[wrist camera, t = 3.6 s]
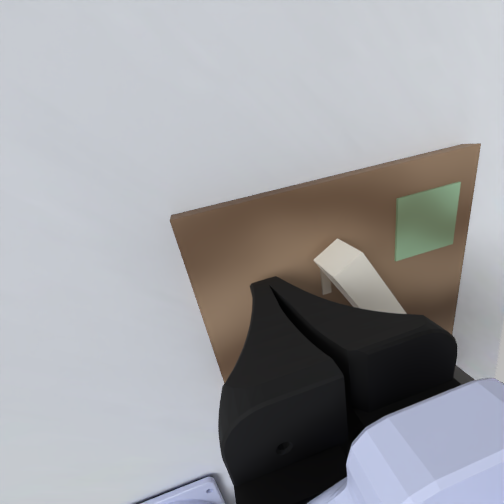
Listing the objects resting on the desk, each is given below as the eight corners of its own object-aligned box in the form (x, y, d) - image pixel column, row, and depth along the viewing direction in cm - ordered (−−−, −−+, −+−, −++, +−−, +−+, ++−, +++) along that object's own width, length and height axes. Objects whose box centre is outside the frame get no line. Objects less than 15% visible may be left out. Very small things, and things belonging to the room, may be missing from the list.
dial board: (433, 376, 21) (445, 387, 20) (248, 447, 19) (251, 464, 18) (461, 144, 14) (483, 143, 13) (171, 215, 12) (169, 221, 11)
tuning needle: (444, 361, 18) (489, 397, 16) (410, 389, 18) (448, 430, 16) (349, 227, 12) (394, 247, 10) (301, 270, 13) (332, 302, 10)
